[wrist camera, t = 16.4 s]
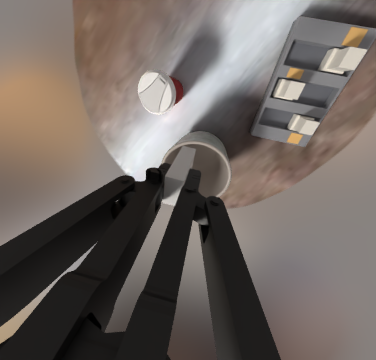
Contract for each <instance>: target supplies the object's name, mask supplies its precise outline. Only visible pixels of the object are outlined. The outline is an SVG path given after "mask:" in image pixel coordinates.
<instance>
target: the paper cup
mask: <svg viewBox="0 0 376 360" xmlns="http://www.w3.org/2000/svg"><path fill="white" fill-rule="evenodd" d="M138 94H139V97H140V100H141V102H142V104H143V106H144V107H145V109H146V110H147V111H149V112H150V113H152V114H157V115H161V114H165V113H167V112H169V111H170V110H171V109H172V107H173V106H174V105H175V104H177V103H178V102H179V101H180V100H181V99H182V97H183V86H182V84H181V83H180V82H179V81H178V80H177V79H175V78H172V77H170V76H168V75H167V74H166V73H165V72H163V71H161V70H157V69H153V70H149V71H147V72H146V73H145V74H144V75H143V76H142V77H141V79H140V82H139V85H138Z"/></svg>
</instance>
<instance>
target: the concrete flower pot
mask: <svg viewBox="0 0 376 360" xmlns="http://www.w3.org/2000/svg"><path fill="white" fill-rule="evenodd" d="M183 146H186V147H190V148H194V149H196V151H195V156H194V161H193V166H192V169H195V170H200V172H201V179H200V184H199V193H200V194H201V195H202V196H204V197H206V198H207V197H209V196H216V197H219V196H221V195H222V194H223V193H224V192H225V191H226V190H227V188H228V187H229V185H230V182H231V178H232V170H231V165H230V162H229V159H228V156H227V152H226V149H225V147H224V145H223V143H222V142H221V141H220V140H219V139H218V138H217V137H216V136H215V135H213V134H211V133H208V132H204V131H196V132H192V133H189V134H187V135H185V136H184V137H182V138H181V139H180V140H179V141H178V142H177V143H176V144H175V145H174V146H173V147H171V148H170V149H169V150H168V152H167V153H166V154H165V156H164V158H163V160H162V163H161V164H163V163H168V164H172V163H173V162H174V160H175V158H176V157H177V155H178V153H179V152H180V150H181V148H182V147H183Z"/></svg>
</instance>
